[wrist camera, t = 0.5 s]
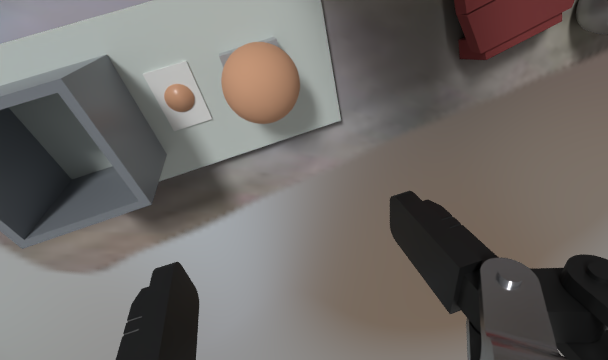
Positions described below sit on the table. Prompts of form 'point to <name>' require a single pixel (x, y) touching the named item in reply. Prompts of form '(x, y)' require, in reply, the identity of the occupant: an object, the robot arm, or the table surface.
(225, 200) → the table surface
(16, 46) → the ball rack
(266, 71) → the ball
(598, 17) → the plastic bottle
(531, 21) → the carton
